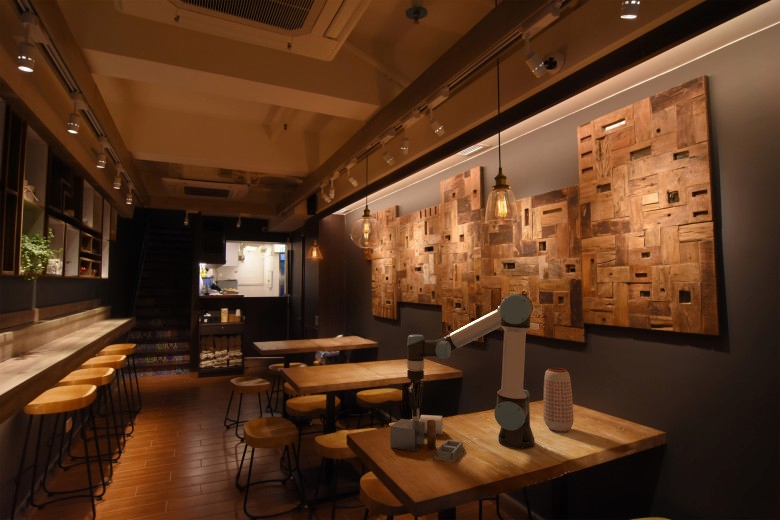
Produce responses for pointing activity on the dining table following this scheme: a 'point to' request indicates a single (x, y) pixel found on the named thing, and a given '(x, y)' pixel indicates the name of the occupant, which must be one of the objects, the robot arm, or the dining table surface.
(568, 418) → the planter
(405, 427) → the block
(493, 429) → the dining table surface
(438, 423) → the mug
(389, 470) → the dining table surface
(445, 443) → the socket board
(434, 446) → the peg
